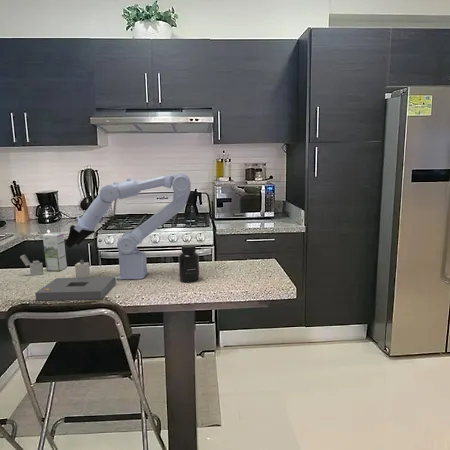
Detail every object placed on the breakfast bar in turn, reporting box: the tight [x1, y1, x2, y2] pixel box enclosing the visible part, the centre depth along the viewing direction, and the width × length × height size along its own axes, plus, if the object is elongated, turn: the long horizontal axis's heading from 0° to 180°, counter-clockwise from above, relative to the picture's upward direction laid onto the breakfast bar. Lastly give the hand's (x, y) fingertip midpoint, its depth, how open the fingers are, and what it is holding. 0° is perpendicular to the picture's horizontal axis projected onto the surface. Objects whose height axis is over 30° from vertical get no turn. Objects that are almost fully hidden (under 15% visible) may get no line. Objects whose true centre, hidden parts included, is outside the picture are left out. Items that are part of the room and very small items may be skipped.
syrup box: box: [42, 231, 68, 272], centre depth 153 cm, size 6×6×14 cm
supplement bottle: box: [178, 244, 200, 283], centre depth 135 cm, size 7×7×12 cm
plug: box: [74, 259, 91, 278], centre depth 139 cm, size 4×3×7 cm, turn 90°
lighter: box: [19, 254, 44, 277], centre depth 147 cm, size 7×2×8 cm, turn 101°
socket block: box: [35, 276, 117, 302], centre depth 126 cm, size 20×15×3 cm
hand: (71, 244), depth 138 cm, fingers open, 7 cm apart
